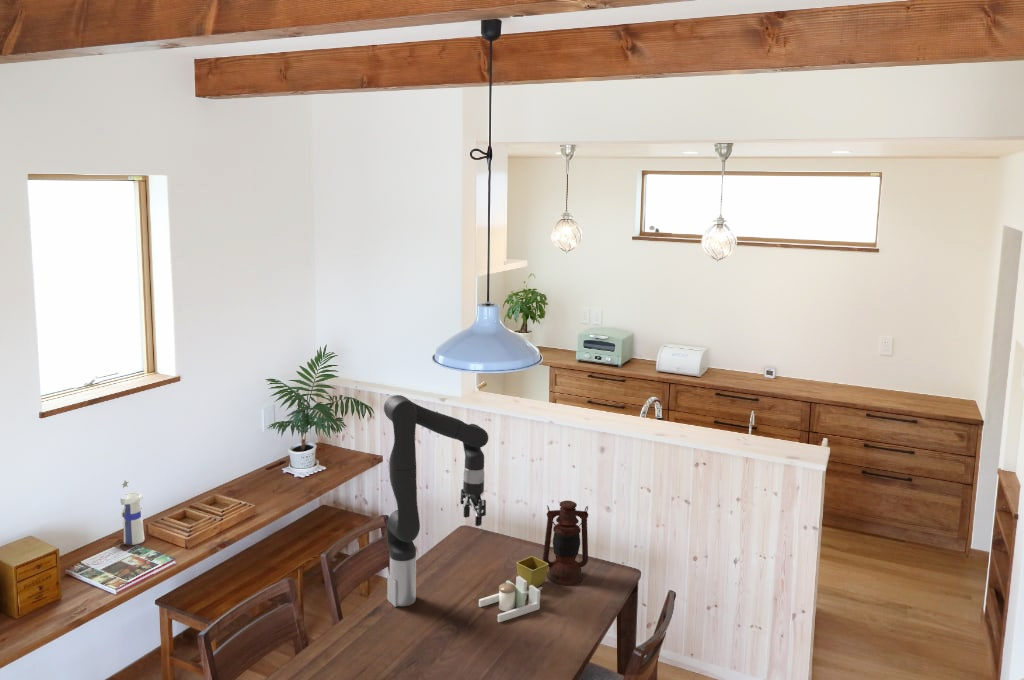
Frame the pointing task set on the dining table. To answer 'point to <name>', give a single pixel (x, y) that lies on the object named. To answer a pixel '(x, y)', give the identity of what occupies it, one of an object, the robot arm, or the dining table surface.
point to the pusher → (520, 596)
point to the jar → (507, 597)
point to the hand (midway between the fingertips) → (472, 521)
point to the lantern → (566, 544)
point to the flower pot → (532, 571)
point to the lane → (532, 606)
